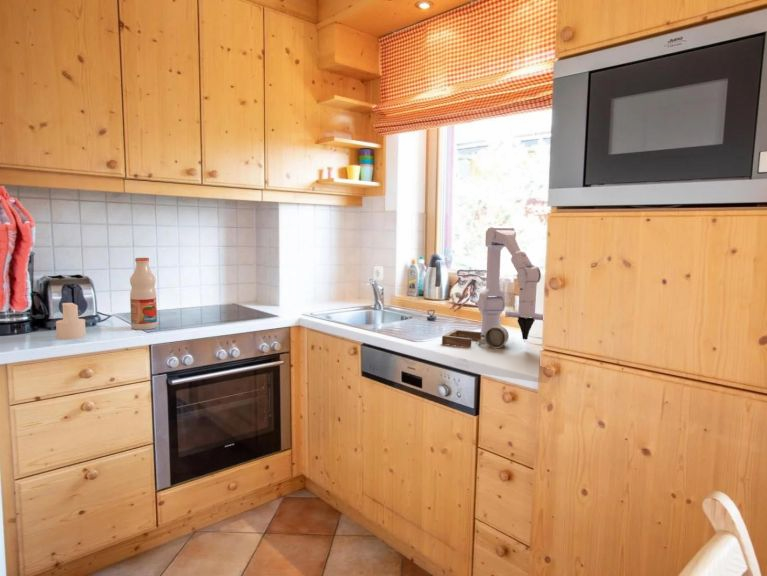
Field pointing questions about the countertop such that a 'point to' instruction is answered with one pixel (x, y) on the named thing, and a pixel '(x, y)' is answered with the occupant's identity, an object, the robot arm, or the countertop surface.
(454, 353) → the countertop surface
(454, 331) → the brown wooden tray
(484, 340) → the ceramic mug
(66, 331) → the base with upright slab
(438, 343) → the countertop surface
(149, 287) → the fruit juice
